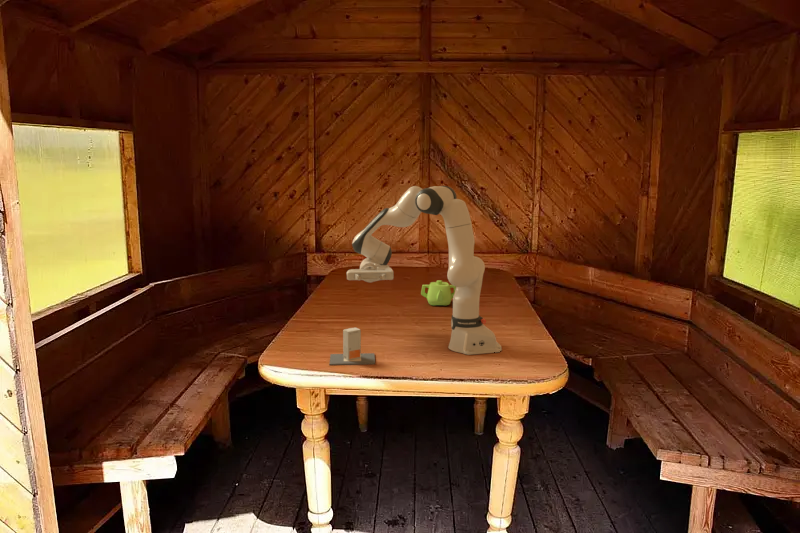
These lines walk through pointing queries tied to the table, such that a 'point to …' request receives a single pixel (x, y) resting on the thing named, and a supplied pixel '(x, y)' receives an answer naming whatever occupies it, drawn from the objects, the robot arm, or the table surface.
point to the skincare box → (351, 343)
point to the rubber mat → (365, 359)
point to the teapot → (438, 293)
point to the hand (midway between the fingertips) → (370, 278)
